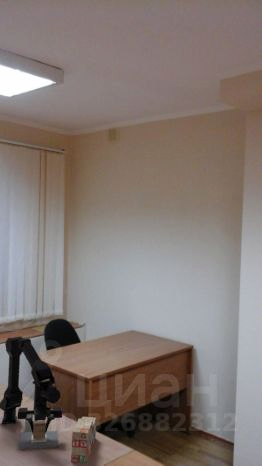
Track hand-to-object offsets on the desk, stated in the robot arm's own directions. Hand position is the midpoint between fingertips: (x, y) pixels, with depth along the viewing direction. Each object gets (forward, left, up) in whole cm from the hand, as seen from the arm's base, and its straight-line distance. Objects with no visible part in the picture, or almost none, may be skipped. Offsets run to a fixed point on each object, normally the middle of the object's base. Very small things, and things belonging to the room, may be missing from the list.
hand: (39, 432), depth 185 cm
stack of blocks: (+9, +19, -4) cm, 21 cm away
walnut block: (0, 0, -1) cm, 1 cm away
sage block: (-11, -4, -4) cm, 13 cm away
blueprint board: (0, 0, -4) cm, 4 cm away
